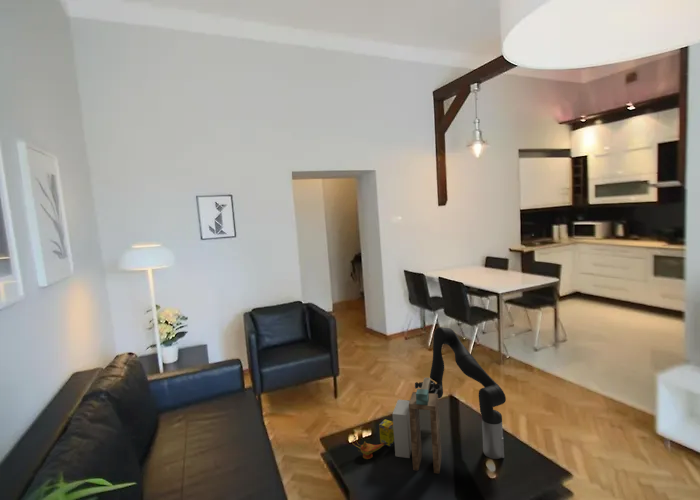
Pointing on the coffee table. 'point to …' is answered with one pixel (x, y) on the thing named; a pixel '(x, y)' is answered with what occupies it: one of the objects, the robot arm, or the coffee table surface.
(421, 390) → the mallet
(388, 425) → the supplement box
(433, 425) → the brown tall legged stand
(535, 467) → the coffee table surface
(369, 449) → the magic lamp
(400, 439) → the grey pedestal
